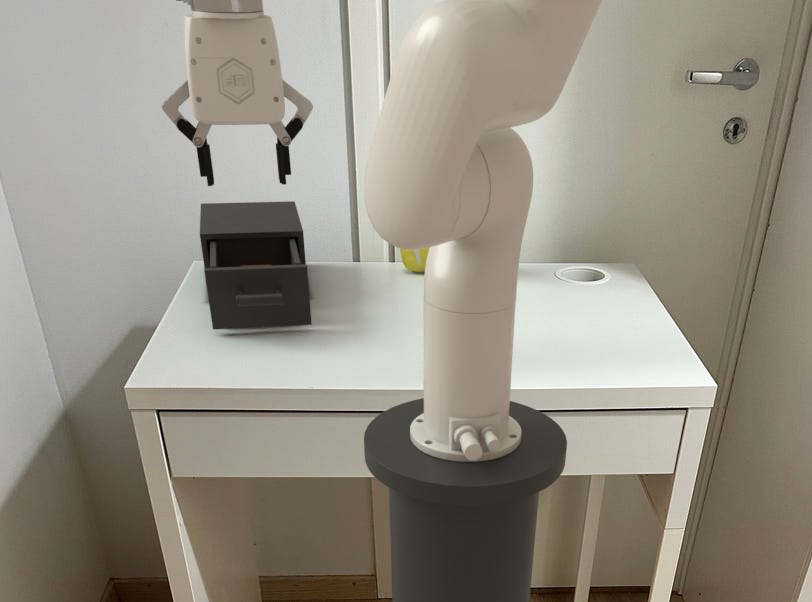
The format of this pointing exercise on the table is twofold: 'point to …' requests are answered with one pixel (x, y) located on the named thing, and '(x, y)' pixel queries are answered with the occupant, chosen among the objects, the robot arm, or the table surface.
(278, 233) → the grey filing cabinet
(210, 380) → the table surface
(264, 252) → the drawer
